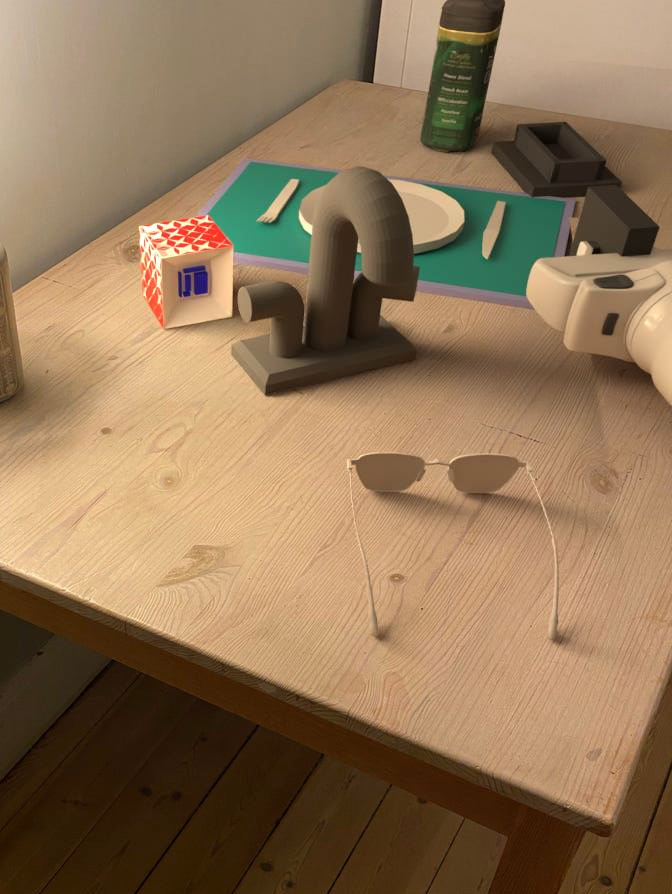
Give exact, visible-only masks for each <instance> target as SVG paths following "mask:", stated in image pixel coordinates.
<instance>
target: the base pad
mask: <svg viewBox="0 0 672 894" xmlns="http://www.w3.org/2000/svg"><path fill="white" fill-rule="evenodd" d="M490 153H491V154H492V156H493V157H494V158H495V159H496V160H497V161H498V163H499V164H500V165H501V166H502V167H503V168H504V170H505V171H506V172H507V173H508V175H509V176H510V177H511V178H512V179H513V180H514V181H515V182H516V184H517V185H518V186H519V187H520V188H521V189H522V191H523V193H528V194H529V195H530V196H531V197H543V196H552V197H560V198H572V197H573V198H574V197H586V193H587V189H588V187H593V186H606V185H617V186H618V187H619V188H620V189H621V188H622V186H623V181H621V179H619V178H618V177H617V176H616V175H615V174H614V173H613V172H612V171H611V170H610V169H609V168H608V167H607V166H606V165H607V159H606V157H604V156H603V155H602V154H601V153H600V152H599V151H597V149H596V148H594V147H593V146H592V145H591V144H590V143H589V142H588V141H587V140H586V139H585V138H584V137H583V136H582V135H580V133H578V131H576V129H574V128H573V126H571V125H570V124H569V123H568V122H567V121H554V122H553V121H552V122H551V121H550V122H535V123H518V124H516V129H515V134H514V137H513V140H503V141H501V140H500V141H493V143H492V146H491V151H490ZM621 190H622V189H621Z"/></svg>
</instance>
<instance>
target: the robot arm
mask: <svg viewBox="0 0 672 894" xmlns="http://www.w3.org/2000/svg"><path fill="white" fill-rule="evenodd" d="M600 248H601V247H600V245H599V244H597V242H596V241H583V242H580V244H579V247H578V251H577V256H569V255H567V256H564V257H552V258H540V259H538V260H537V261H536V262H535V264H534V265H533V267H532V269H531V272H530V275H529V279H528V283H527V289H526V295H527V298H528V300H529V302H530V303H531V305H532V306H533V308H534V309H535V310H534V311H535V312H536V313H537V314H538V315H539V317H540V318H541V319H542V320H543V321H544V322H545V323H546V324H547V325H548V326H549V327H551V328H552V329H553V330H555V331H558V332H560V333H563V334H564V335H563V345H564V346H565V348H566V349H567V350H568V351H570V352H573V353H582V354H589V355H597V356H599V355H600V356H606V357H610V358H615V359H618V360H622V361H625V362H629V363H635V364H636V365H637V366H638V367H639V368H640V369H641V370H642V371H644V372H645V373H647V374H649V375H650V376H651V379H652V380H651V381H652V382H653V385H654V387H655V388H656V390H657V391H658V392H659V393H660V395H661V396H662V397H663V398H664V400H665V401H666V402H667V403H668V404H669V405H670V406H671V407H672V248H664V249H663V248H659V247H656V246H653V248H652V251H651V254H650V255H637V256H623V257H621V256H620V255H619V254H618V253H608V254H599V251H600Z"/></svg>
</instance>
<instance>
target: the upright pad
mask: <svg viewBox="0 0 672 894" xmlns="http://www.w3.org/2000/svg"><path fill="white" fill-rule="evenodd" d="M660 228H661V226H660V225H659V224H658V223H656V222H655V221H654V219H652V218H651V217H650V215H648V214H647V212H646V211H644V210H643V209H642V208H641V207H640V206H639V205H638V204H637V203H636V202H635V201H634V200H632V198H630V197H629V195H627V194H626V193H625V192H624V191H623V190H622V189H620V188H619V187H618V186H617V185H606V186H593V187H588V189H587V193H586V196H584V201H583V203H582V208H581V212H580V214H579V219H578V222H577V225H576V230H575V233H574V237H573V241H572V245H571V248H570V251H569V255H568V256H577V251H578V247H579V244H580V242H583V241H596V242H597V244H599V245H600V247H601V248H600V251H599V254H608V253H618V254H619V255H620V256H621V257H623V256H637V255H650V254H651V251H652V248H653V247H654V245H655V242H656V240H657V236H658V233H659V230H660Z"/></svg>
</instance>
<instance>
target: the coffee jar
mask: <svg viewBox="0 0 672 894" xmlns="http://www.w3.org/2000/svg"><path fill="white" fill-rule="evenodd" d="M505 7H506V0H446V1H444V3H443V4H442V7H441V11H440V16H439V23H438V28H437V29H438V30H437V36H436V43H435V50H434V55H433V62H432V67H431V68H432V69H431V73H430V80H429V86H428V92H427V98H426V103H425V108H424V114H423V120H422V125H421V131H420V137H419V138H420V142H421V144H422V145H423V146H426V147H429V148H431V149H433V150H434V151H438V152H443V153H449V152H452V151H453V152H454V151H457V152H458V151H459V152H465V151H467V150H469V149H470V148H471V147H472V146H473V145H474V144H475V142H476V141H477V139H478V137H479V134H480V131H481V125H482V121H483V115H484V110H485V104H486V100H487V94H488V90H489V85H490V81H491V76H492V70H493V67H494V62H495V55H496V52H497V47H498V42H499V37H500V33H501V28H502V22H503V18H504V11H505Z"/></svg>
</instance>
